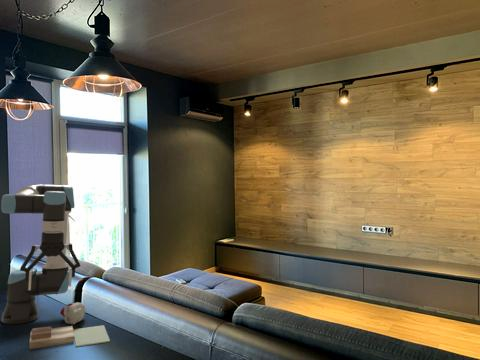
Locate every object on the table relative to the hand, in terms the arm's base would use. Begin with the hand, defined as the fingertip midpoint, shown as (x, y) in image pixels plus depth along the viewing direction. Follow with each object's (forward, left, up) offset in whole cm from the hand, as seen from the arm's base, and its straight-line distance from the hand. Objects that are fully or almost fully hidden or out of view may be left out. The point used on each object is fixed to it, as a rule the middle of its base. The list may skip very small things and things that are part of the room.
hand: (50, 287), depth 137 cm
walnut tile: (-15, -2, -24) cm, 28 cm away
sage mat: (-13, +17, -26) cm, 34 cm away
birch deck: (-15, +2, -26) cm, 30 cm away
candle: (-34, +11, -26) cm, 44 cm away
